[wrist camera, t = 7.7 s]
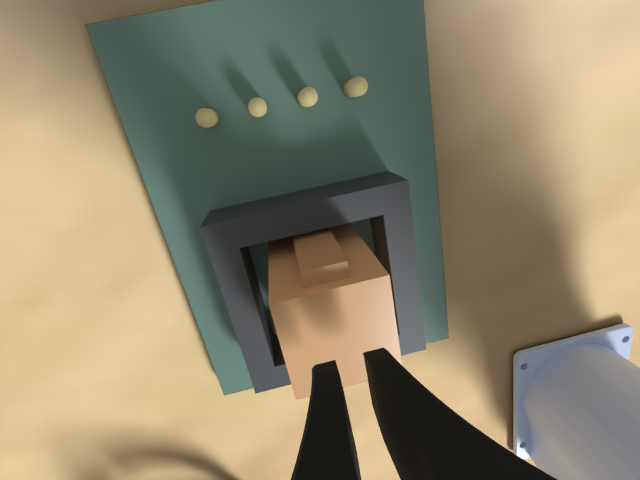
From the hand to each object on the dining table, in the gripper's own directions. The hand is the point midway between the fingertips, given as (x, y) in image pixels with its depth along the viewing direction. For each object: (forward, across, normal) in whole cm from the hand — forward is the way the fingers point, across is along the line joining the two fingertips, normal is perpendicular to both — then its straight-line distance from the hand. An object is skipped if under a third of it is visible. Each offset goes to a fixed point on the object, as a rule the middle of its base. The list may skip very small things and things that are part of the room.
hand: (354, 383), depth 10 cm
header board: (+9, 0, -3) cm, 9 cm away
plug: (+8, 0, 0) cm, 8 cm away
